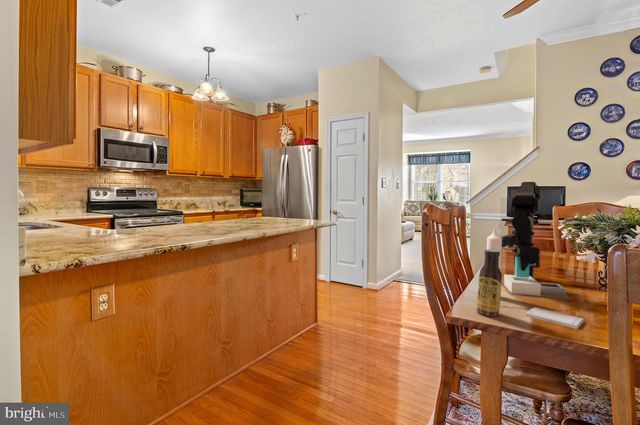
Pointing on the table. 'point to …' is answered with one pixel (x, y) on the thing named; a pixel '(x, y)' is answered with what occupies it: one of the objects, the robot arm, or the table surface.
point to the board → (542, 295)
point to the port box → (522, 285)
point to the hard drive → (555, 317)
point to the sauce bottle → (489, 285)
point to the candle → (495, 244)
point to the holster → (552, 289)
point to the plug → (518, 269)
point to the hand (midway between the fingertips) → (521, 269)
